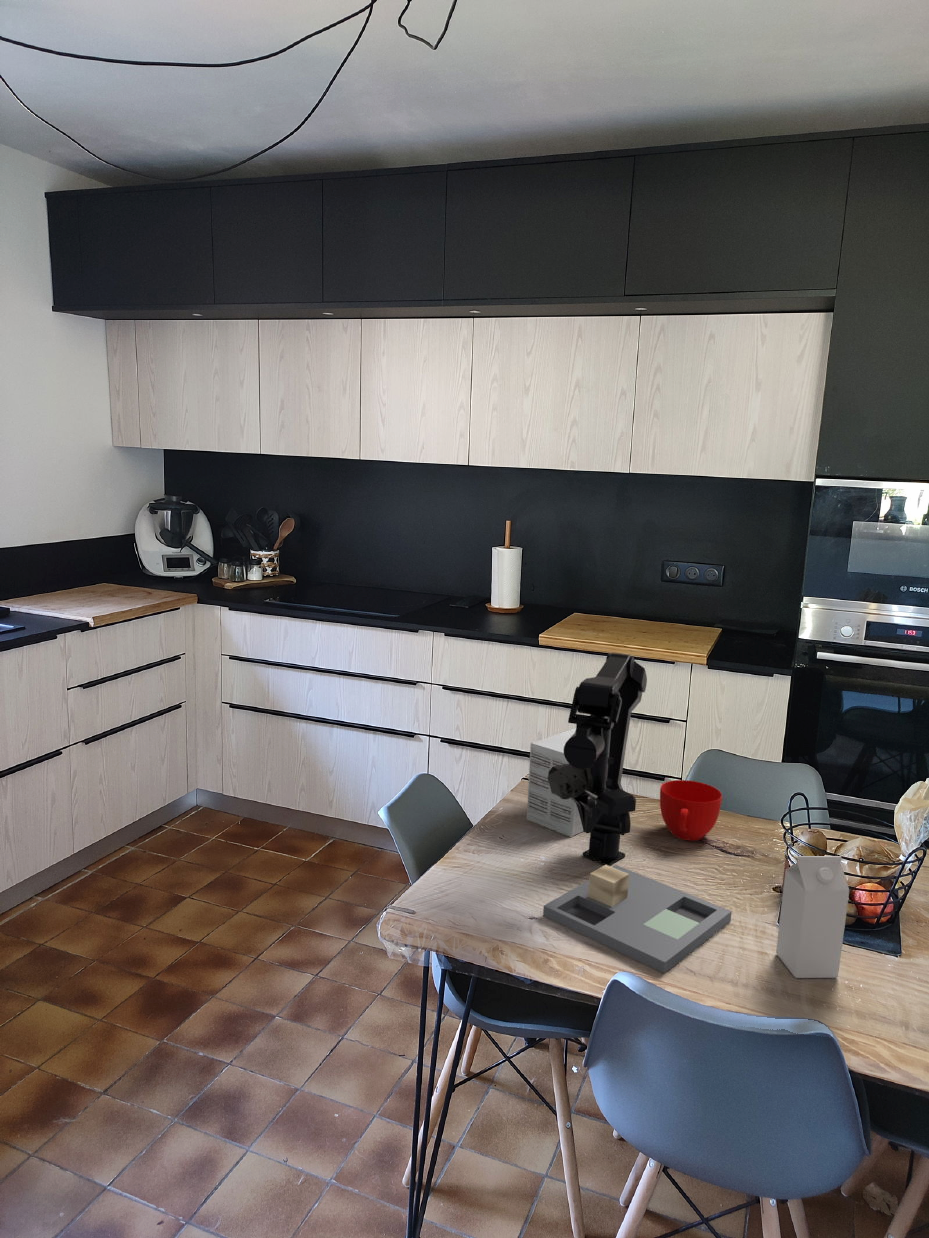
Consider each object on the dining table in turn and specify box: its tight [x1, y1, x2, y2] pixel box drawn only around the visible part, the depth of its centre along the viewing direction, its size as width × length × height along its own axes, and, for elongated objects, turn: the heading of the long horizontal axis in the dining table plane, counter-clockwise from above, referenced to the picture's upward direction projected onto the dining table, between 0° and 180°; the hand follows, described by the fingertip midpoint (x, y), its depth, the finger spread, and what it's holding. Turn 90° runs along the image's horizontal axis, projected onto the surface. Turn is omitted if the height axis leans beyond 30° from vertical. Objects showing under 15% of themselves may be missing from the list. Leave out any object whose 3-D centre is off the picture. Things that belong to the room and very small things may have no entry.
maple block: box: [588, 864, 629, 907], centre depth 156 cm, size 5×5×4 cm
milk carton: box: [775, 855, 850, 979], centre depth 139 cm, size 7×7×19 cm
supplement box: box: [526, 727, 584, 838], centre depth 194 cm, size 17×13×18 cm
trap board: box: [542, 864, 733, 974], centre depth 153 cm, size 23×24×2 cm
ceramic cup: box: [659, 779, 723, 842], centre depth 187 cm, size 13×17×10 cm
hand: (587, 832), depth 160 cm, fingers closed
